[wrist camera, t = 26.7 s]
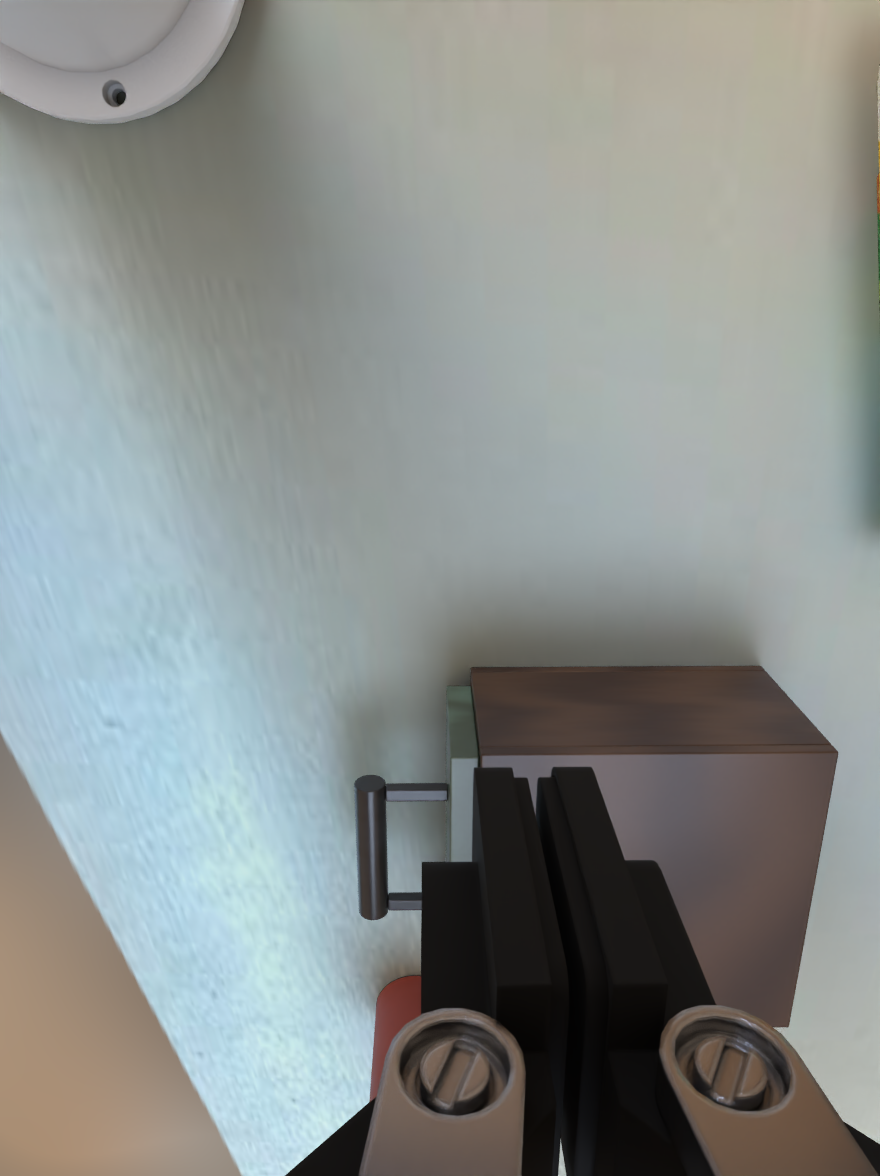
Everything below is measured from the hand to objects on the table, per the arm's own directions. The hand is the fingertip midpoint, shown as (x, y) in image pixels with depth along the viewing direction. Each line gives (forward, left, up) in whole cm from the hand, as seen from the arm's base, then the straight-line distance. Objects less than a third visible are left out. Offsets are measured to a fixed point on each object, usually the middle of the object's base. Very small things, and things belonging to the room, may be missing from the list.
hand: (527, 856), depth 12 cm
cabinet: (+13, -13, -27) cm, 33 cm away
